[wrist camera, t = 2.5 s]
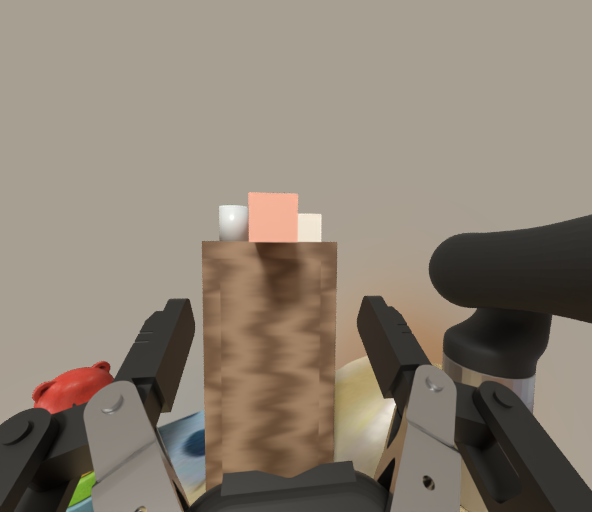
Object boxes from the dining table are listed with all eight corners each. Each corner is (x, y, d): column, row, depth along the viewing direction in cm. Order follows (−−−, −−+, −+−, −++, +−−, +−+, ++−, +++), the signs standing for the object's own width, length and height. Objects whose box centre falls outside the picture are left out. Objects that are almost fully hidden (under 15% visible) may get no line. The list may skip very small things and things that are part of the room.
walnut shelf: (313, 412, 46) (315, 241, 44) (332, 487, 32) (337, 242, 30) (225, 419, 44) (223, 241, 42) (206, 501, 30) (201, 241, 28)
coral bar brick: (281, 241, 43) (281, 218, 43) (297, 242, 20) (297, 193, 20) (258, 241, 43) (258, 218, 43) (248, 242, 20) (248, 192, 20)
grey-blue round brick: (249, 241, 39) (249, 209, 38) (247, 241, 35) (247, 205, 34) (222, 241, 38) (222, 208, 38) (216, 241, 34) (216, 204, 34)
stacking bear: (20, 626, 20) (6, 421, 19) (5, 539, 26) (-6, 378, 25) (156, 511, 29) (152, 365, 28) (122, 465, 35) (117, 343, 34)
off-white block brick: (314, 241, 40) (314, 217, 40) (321, 241, 35) (321, 214, 35) (292, 241, 40) (292, 216, 40) (296, 241, 35) (296, 213, 35)
